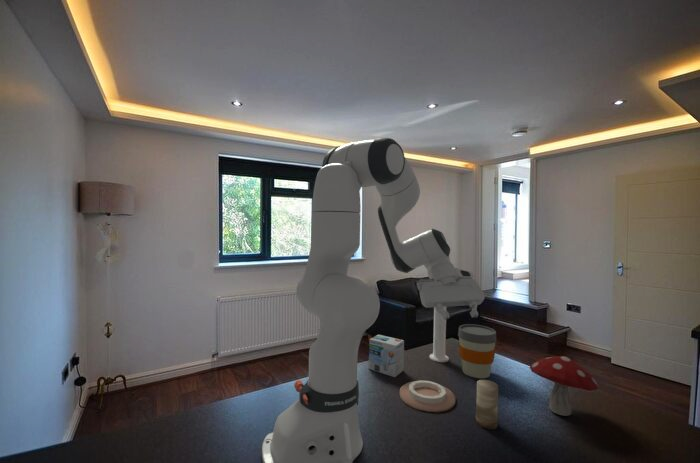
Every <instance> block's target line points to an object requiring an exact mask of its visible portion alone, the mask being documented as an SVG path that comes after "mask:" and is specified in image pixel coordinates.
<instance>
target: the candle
mask: <svg viewBox="0 0 700 463" xmlns="http://www.w3.org/2000/svg"><path fill="white" fill-rule="evenodd" d="M442 308H443V309H444V310H445V311H447V307H442ZM446 333H447V319H443V317H442V315H441V314H440V313H439V312H438V311H436V309H435V307H433V345H432V348H433V350H432V353H430V354H429V359H430V360H431V361H433V362H436V363H447V362H449V360H450V359H449V356H447V355H446V343H447V342H446V339H447V338H446V336H447V334H446Z"/></svg>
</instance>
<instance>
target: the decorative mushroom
mask: <svg viewBox="0 0 700 463" xmlns="http://www.w3.org/2000/svg"><path fill="white" fill-rule="evenodd" d="M529 369H530V371H531V372H532V373H534V374H536V375H537V376H539V377H541V378H543V379H545V380H548V381H551V382H553V383H554V386H553V388H552V391H551V393H550V396H549V404H548V405H549V406H548V408H549V409H550V411H552V412H553V413H554V414H557V415H559V416H565V417H567V416H571V415H572V402H571V398H570V393H569V389H568V388H572V389H576V390H579V391H580V390H581V391H583V392H588V393H591V392H596V391H597V390H599V384H598V381H597V380H596V379H595V378H594V376H593V375H592V374H591V373H590V372H589V371H588V370H586V369H585V367H582V365H580V364H578V363H577V362H576V361H574V360H573V359H571V358H569V357H568V356H564V355H557V356H551V357H550V356H549V357H545V358H541V359H539V360H536V361H535V362H532V363H531V364H530V366H529Z"/></svg>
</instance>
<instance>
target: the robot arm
mask: <svg viewBox="0 0 700 463" xmlns="http://www.w3.org/2000/svg"><path fill="white" fill-rule="evenodd" d="M321 166H322V167H320V169H319V170H318V172H317V175H316V177H315V181H314V186H313V187H314V188H313V193H312V194H313V196H312V204H311V205H312V206H311V231H310V232H311V233H310V235H311V236H310V248H309V255H308V259H307V262H306V266H305V269H304V274H303V275H302V276H301V277H300V279H299V281H298V283H297V286H296V297H297V300H298V301H299V303H300V304H301V305H302V307H303V308H304V309H305V310H306V311H307V312H308V313H309V314H312V315H313V316H316V317H317V318H318V319H319V323H320V324H319V329H318V330H319V331H318V334H317V338H316V340H315V341H313V342H312V343H311V345H310V347H309V351H308V380H307V381H306V382H305V384H304V382H303V381H302V380H301V379H298V380H296V381H295V382H294V386H293V387H294V389H295V391H296V392H297V393H299V394H298V397H299V398H298V399H297V400H296V401H295V402H294V403H292V404H291V405H290V406H289V407H287V408H286V409H285V410H283V412H281V413H280V414H279V415H278V417H277V418H276V420H275V423H274V428H273V431H272V432H270V433H268V434H266V436H265V437H264V439H263V441H262V444H261V445H262V446H261V459H262V460H261V461H262V463H353V462H354V460H355V459H356V458H357V457H358V456H359V455H360V453H361V452H362V449H363V447H364V446H363V445H364V443H363V442H364V440H363V438H362V434H361V430H360V424H359V415H358V405H359V398H360V397H359V396H360V390H359V385H360V384H359V381H358V358H359V356H358V354H359V350H360V349H359V347H360V344H361V340H362V338H363V336H364V333H366V330H368V329H369V328H371V326H373V325H374V323H375V322H376V320H377V318H378V316H379V314H380V308H381V303H380V297H379V294H378V293H377V291H376V290H375V289H374V288H373V287H371V286H370V285H369V284H368V283H366V282H365V281H363V280H361V279H359V278H357V277H354V276H348V269H349V265H350V263H351V259H352V257H353V256H354V255H355V254H356V252H357V251H358V250H359V248H360V244H361V209H362V208H361V191H360V190H361V188H368V187H373V186H374V187H375V188H376V191H377V192H378V193H379V196H380V205H379V206H378V208H377V216H378V220H379V222H380V226H381V229H382V233H383V236H384V238H385V242H386V244H387V247H388V250H389V256H390V260H391V262H392V265H393V267H394V268H395V269H396V271H398V272H401V273H404V274H408V273H410V272H412V271H414V270H416V269H417V268H419V267H421V266H424V267H425V269H426V270H427V276H428V278H427V279H423V278H422V279H419V280H418V281H417V282H416V288H417V290H418V291H419V297H420V302H421V305H422V306H423V307H425V308H427V309H428V308H429V309H430V308H434V307H435V309H436V311H438V312H439V313H440V314H441V315H442V317H443V319H446V320H449V319H450V318H451V315H450V313H449V311H447V310H446V311H445V310H444V309H443V308H442V307H446V308H448V307H459V306H460V307H461V306H469V308H471V310H470V312H469V314H470V316H471V318H478V316H479V311H478V310H477V309H478V306H479V305H481V304H482V303H483V302H484V300H485V297H486V296H485V293H484V291H483V290H482V287H481V286H480V284H479V283H478V281H477V280H475V279H473V278H474V275H473V273H472V272H471V271H468V270H464V269H461V268H458V267H455V265H454V264H453V263H452V262H451V259H450V258H451V257H450V253H451V248H450V246H449V244H448V242H447V239H446V237H445V235H444V233H443V232H442V231H440V230H438V229H434V228H431V229H427V230H424V231H422V232H420V233H418V234H416V235H414V236H412V237H410V238H407V239H405V240H400V239H399V235H398V233H397V229H396V228H397V225H398V224H399V222H400V221H401V220H402V219H403V218H404V217H405V216H407V214H408V213H410V212H411V211H412V210H413V208H414V207H415V206H416V204H417V202H418V200H420V195H421V189H420V188H421V187H420V185H419V182H418V179H417V177H416V174H415V172H414V170H413V168H412V166H411V165H410V162H409V161H408V159H407V158H406V157H405V153H404V150H403V148H402V147H401V145H400V144H399V142H397V141H395V139H393V138H390V137H377V138H375V139H366V140H356V141H353V142H349V143H346V144H344V145H338V146H336V147H334V148H331V149H330V150H329V151H328V152H326V154H325V155H324V158H323V160H322V165H321Z"/></svg>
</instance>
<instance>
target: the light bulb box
mask: <svg viewBox="0 0 700 463" xmlns="http://www.w3.org/2000/svg"><path fill="white" fill-rule="evenodd" d="M368 345H369V346H368V348H369V349H368V351H369V352H368V369H369V370H371V371H373V372H378V373H381V374H383V375H386V376H390V377H391V378H396V377H397V376H399V375H400V374H401V373H403V371H404V361H405V359H404V358H405V357H404V356H405V352H404V351H405V340H403V339H399V338H395V337H391V336H386V335H382V334H377V335H375V336H373V337H371V338H370V339H369V344H368Z"/></svg>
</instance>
